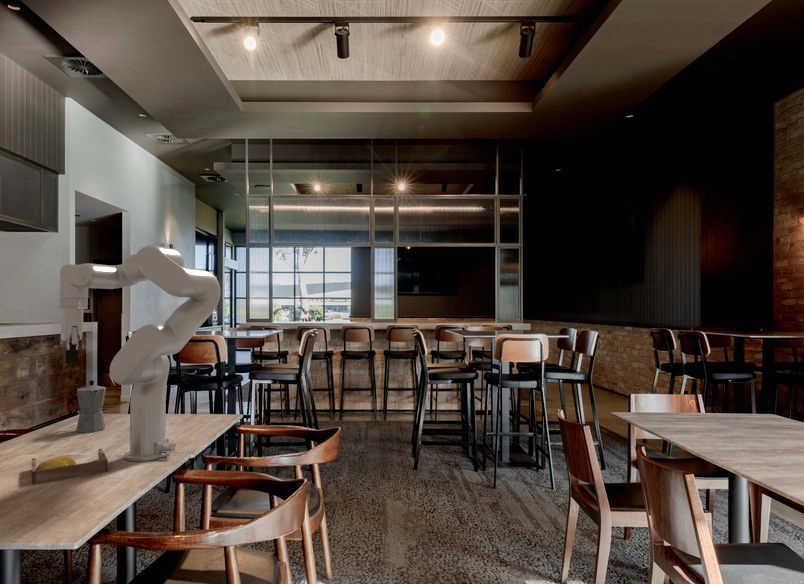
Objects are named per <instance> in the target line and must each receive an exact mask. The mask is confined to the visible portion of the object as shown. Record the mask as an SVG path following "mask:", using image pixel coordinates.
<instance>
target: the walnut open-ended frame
mask: <svg viewBox="0 0 804 584" xmlns="http://www.w3.org/2000/svg"><path fill="white" fill-rule="evenodd" d="M97 456H98V459H97V461H90V462H83V463H78V464H77V463H76V465H70V466H63V467H57V468H50V469H44V470H37V471H36V468H37V466H36V457H34V458H33V457H32V458H31V485H35V484H42V483H46V482H53V481H59V480H66V479H72V478H77V477H78V478H79V477H83V476H89V475H95V474H100V473H101V474H102V473H108V470H109V460H108V458H107V456H106V454H105V452H104V450H103V448H98V454H97Z"/></svg>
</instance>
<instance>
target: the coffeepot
mask: <svg viewBox="0 0 804 584" xmlns="http://www.w3.org/2000/svg"><path fill="white" fill-rule="evenodd" d="M88 383H89V385H88V384H86V385H85V386H84V387H80V388H78V389H76V394H77V401H78V406H79V407H78V408H80V413H79V415H78V419H77V426H76V432H77V433H80V434H87V433H88V434H89V433H95V432H101V431H104V430H105V429H106V424H105V417H104V411H103V406H104V402H105V397H106V396H105V395H106V390H107V386H106V387H105V386H100V385H95V380H92V379H91V380H89V381H88Z"/></svg>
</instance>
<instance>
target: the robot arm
mask: <svg viewBox="0 0 804 584" xmlns="http://www.w3.org/2000/svg"><path fill="white" fill-rule="evenodd" d="M59 272H60V273H59V274H60V276H59V299H58V300H59V301H58V304H59V305H58V308H59V309H61V310H62V314H61V326H60V327H61V328H60V340H62V341H64V342H65V341H66V345H65V346H66V349H65V356H64V357H65V360H64V361H65V363H66V364H78V363H79V341H82V339H83V328H84V310H88V305H89V301H88V300H89V299H88V298H89V289H103V290H105V289H106V290H114V289H119V288H125V287H131V286H135V285H137V284H139V283H140V282H141V283H142V282H146V281H151V282H152V283H153V284H155V285H156V286H157V287H159V288H160V289H161V290H162V291H164V292H165V293H166V294H169V295H170V296H173V297H176V298H188V299H187V300H186V301H185V302H183V303H181V304H180V305H179V306H178V307H177V308H176V309H175V310H174V312H172V314H171V315H170V316H169V317H168V318H167V319H166V320H165V321H163V322H160V323H149V324H146V325H143V326H141V327H140V328H138V329H137V330H135V331H134V332H133V334H131V336H130V337H129V338H128V339H127V341H126V342H125V343H124V345H122V347H121V348H120V350H119V351H118V352H117V353H116V354H115V356H114V357H113V359H112V361H111V362H110V366H109V376H110V378H111V379H112V381H113V382H114V383H116V384H117V385H120V386H131V385H132V386H133V387H132V390H131V393H130V399H129V400H130V402H129V403H130V406H129V407H130V408H129V409H130V410H129V413H130V414H129V450H127V451H126V452H124V453H123V459H124V460H125V461H128V462H129V461H130V462H144V461H153V460H158V459H162V458H165V457H167V456H169V455H170V454H171V452H172V453H173V452H175V451H176V447H177V443H175V442H172V443H170V442H169V440H170V438H166V415H167V414H166V408H167V407H166V406H167V405H166V401H167V384H168V383H167V382H168V377H169V372H170V366H171V365H170V363H171V362H170V359H169V357H168V356H172V355H175V354H178V353H179V352H181V350H182V349H183V348H184V347H185V346H186V345H187V344H188V342H189V341H190V340H191V339H192V337H193V336H194V335H195V334H196V332H198V330H199V329H200V328H201V326H202V325H203V324H204V323H205V322H206V321H207V320H208V318H209V317H210V316H211V315H212V314H213V312H214V311H215V310H216V308H217V307H218V304H219V302H220V298H221V287H220V286H221V285H220V282H219V280H218V278H217V276H216V275H214V274H213V273H212V272H210V271H207V270H204V269H200V268H199V269H198V268H190V267H185V260H184V256H183V255H182V254H181V253H180V252H179V250H176V249H174V248H171V247H166V246H160V245H154V244H153V245H151V244H150V245H145V246H143V247H141V248H139V250H138V251H137V252H136V253H133V254H129V255H128V256H126V258H125V259H124V262H123V263H121V264H117V265H108V264H107V265H106V264H101V263H100V264H97V263H88V262H87V263H81V264H63V265H62V266H61V267H60V271H59Z"/></svg>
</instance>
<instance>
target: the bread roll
mask: <svg viewBox="0 0 804 584" xmlns="http://www.w3.org/2000/svg"><path fill="white" fill-rule="evenodd" d="M76 464H77V462H76V460H75V459H74V458H73V457H70V456H67V455H62V456H57V457H54V458H51V459H48V460H44V461H42V462H39V464H38V465H37V466H36V471H37V470H44V469H50V468H57V467H63V466H70V465H76Z"/></svg>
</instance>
